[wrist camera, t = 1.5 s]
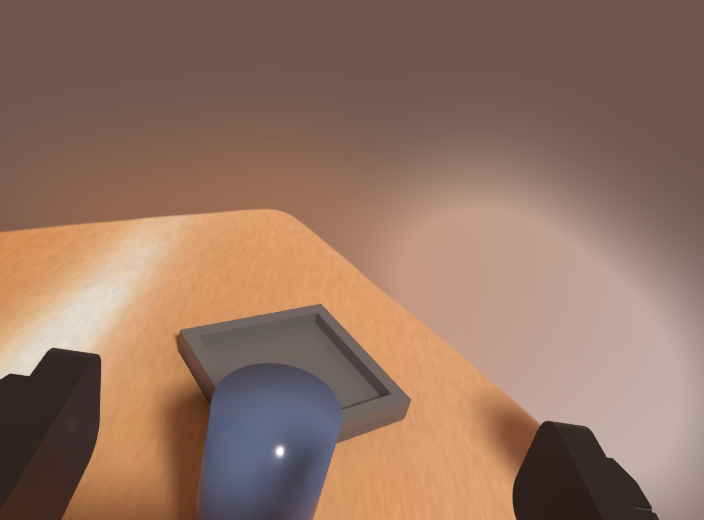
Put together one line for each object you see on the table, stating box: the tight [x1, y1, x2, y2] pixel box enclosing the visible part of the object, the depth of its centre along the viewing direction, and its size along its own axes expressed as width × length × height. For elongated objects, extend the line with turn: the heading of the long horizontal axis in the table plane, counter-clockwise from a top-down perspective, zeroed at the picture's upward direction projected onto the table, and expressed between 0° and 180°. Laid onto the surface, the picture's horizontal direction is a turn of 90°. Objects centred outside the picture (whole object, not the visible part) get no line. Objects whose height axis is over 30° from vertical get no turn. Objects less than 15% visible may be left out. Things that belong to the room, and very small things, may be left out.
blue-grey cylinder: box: [193, 363, 342, 520], centre depth 26 cm, size 5×5×11 cm
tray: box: [178, 304, 411, 443], centre depth 41 cm, size 12×12×2 cm
